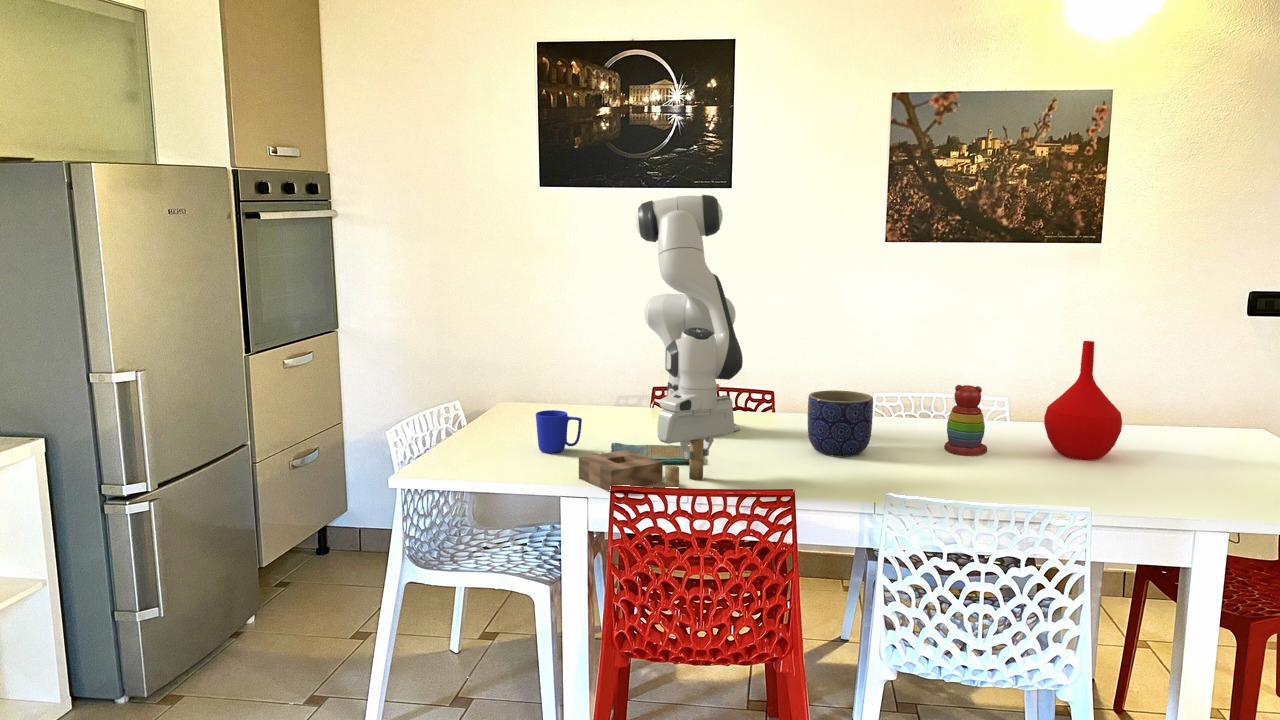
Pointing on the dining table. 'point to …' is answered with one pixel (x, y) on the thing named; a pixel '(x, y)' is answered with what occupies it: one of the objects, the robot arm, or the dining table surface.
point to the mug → (554, 430)
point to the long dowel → (696, 459)
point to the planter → (840, 422)
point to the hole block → (620, 469)
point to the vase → (1083, 416)
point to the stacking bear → (966, 423)
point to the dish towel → (656, 452)
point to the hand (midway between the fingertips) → (696, 457)
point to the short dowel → (671, 476)
